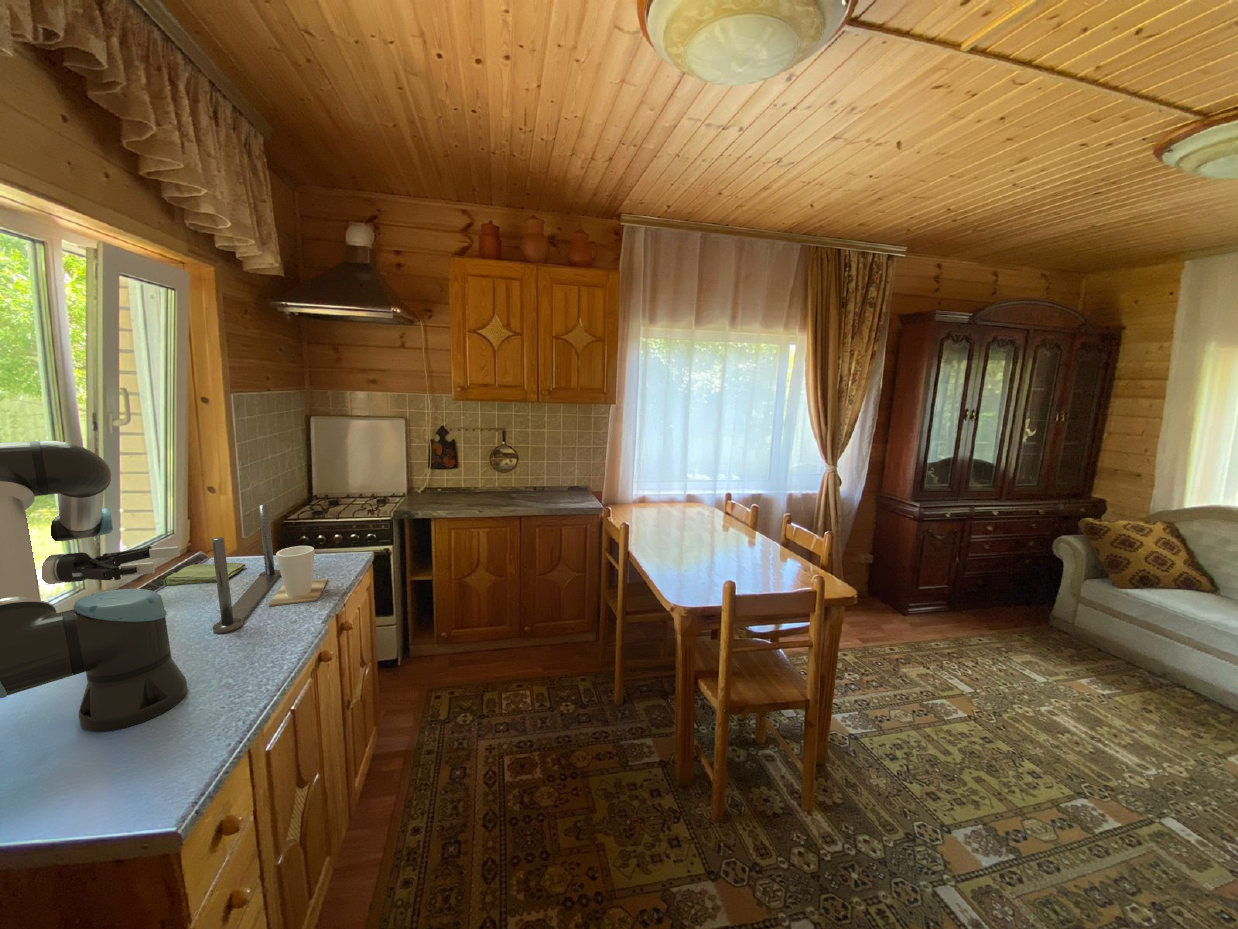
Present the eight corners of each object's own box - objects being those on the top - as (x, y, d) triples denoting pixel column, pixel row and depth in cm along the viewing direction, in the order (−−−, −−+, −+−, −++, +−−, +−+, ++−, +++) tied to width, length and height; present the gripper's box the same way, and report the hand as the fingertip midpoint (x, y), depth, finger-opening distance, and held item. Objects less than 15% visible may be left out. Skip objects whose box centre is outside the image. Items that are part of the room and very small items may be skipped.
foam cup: (313, 596, 145) (309, 554, 142) (276, 600, 141) (272, 558, 139) (319, 584, 153) (316, 544, 151) (285, 588, 150) (281, 547, 148)
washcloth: (227, 583, 155) (226, 574, 154) (161, 588, 150) (160, 578, 150) (247, 568, 167) (247, 559, 167) (187, 572, 163) (186, 563, 162)
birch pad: (317, 600, 143) (317, 599, 143) (268, 606, 139) (268, 604, 139) (328, 580, 158) (327, 578, 158) (284, 584, 154) (284, 583, 153)
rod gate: (237, 631, 125) (227, 541, 121) (209, 635, 123) (197, 543, 119) (283, 572, 164) (277, 502, 160) (262, 574, 161) (255, 503, 157)
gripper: (97, 565, 139) (189, 557, 147) (30, 601, 116) (144, 589, 124) (93, 540, 138) (186, 533, 146) (25, 571, 115) (139, 561, 123)
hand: (167, 559), depth 135 cm, fingers open, 13 cm apart
